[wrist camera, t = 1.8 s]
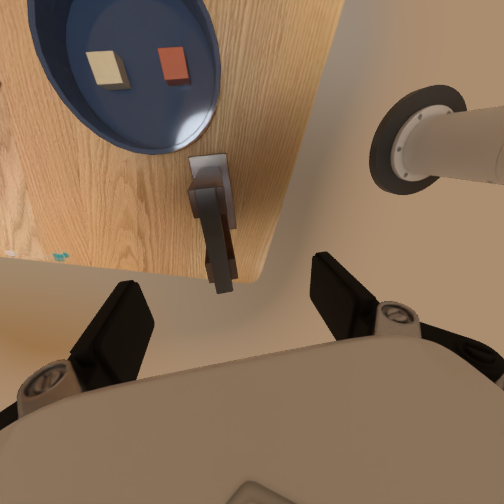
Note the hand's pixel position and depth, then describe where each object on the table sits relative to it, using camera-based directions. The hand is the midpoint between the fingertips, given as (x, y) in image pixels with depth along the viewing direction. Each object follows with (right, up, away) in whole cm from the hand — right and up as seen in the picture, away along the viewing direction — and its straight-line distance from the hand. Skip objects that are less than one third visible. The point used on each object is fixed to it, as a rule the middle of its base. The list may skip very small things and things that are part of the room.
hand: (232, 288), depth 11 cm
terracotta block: (-9, +26, +17) cm, 32 cm away
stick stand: (-6, +12, +25) cm, 29 cm away
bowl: (-13, +26, +17) cm, 34 cm away
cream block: (-17, +25, +16) cm, 34 cm away
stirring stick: (-2, +3, +8) cm, 9 cm away
